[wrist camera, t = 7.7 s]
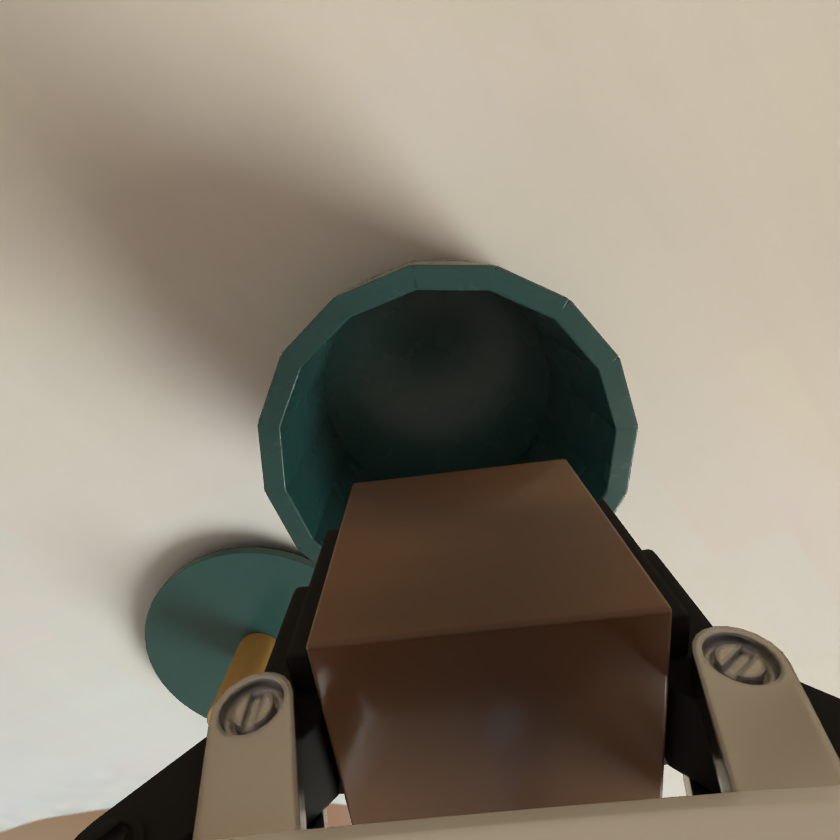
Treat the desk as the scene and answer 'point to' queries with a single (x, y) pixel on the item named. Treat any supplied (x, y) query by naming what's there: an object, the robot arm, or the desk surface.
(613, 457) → the tin
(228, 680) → the lid
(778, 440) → the desk surface
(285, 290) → the desk surface
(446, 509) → the block
